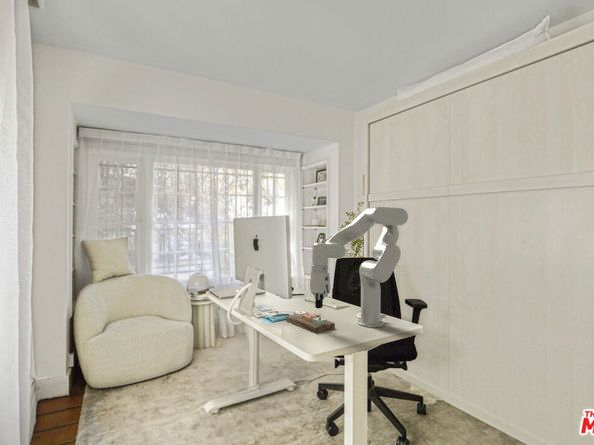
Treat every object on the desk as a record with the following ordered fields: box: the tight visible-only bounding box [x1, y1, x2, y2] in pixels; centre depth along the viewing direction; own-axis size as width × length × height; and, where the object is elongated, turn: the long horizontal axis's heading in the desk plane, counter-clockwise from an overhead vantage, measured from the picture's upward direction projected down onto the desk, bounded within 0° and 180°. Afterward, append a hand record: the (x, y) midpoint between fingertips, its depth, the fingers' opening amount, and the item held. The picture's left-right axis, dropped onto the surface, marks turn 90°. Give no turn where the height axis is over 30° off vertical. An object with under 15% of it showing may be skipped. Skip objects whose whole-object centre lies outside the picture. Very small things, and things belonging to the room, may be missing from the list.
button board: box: [285, 314, 336, 334], centre depth 162 cm, size 12×23×2 cm, turn 37°
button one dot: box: [293, 310, 308, 318], centre depth 168 cm, size 5×5×3 cm
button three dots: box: [312, 316, 328, 326], centre depth 156 cm, size 5×5×3 cm
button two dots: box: [303, 313, 318, 322], centre depth 162 cm, size 5×5×3 cm
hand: (318, 307), depth 156 cm, fingers closed
